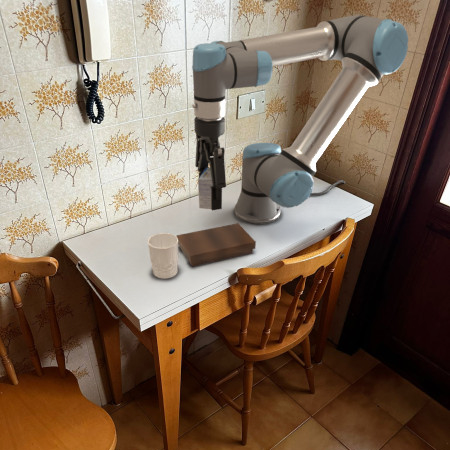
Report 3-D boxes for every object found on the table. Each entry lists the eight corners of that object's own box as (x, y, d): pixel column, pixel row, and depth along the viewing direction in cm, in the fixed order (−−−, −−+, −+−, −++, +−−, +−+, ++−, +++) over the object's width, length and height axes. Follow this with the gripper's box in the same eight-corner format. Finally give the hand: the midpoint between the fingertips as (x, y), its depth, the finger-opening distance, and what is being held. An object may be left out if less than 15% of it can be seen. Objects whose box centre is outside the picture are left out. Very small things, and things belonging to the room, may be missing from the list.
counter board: (237, 234, 138) (238, 222, 136) (254, 253, 130) (255, 241, 127) (177, 247, 132) (176, 235, 129) (190, 268, 123) (190, 256, 121)
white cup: (147, 278, 119) (143, 246, 113) (156, 262, 125) (153, 231, 119) (175, 281, 118) (173, 250, 112) (183, 265, 124) (181, 234, 118)
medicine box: (214, 210, 119) (214, 179, 114) (198, 208, 120) (197, 178, 114) (221, 197, 125) (221, 168, 120) (205, 196, 126) (205, 166, 120)
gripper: (181, 106, 115) (184, 188, 129) (211, 132, 99) (211, 221, 113) (208, 103, 117) (208, 184, 131) (241, 128, 102) (238, 216, 116)
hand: (210, 201), depth 122 cm, fingers closed on medicine box, 9 cm apart
